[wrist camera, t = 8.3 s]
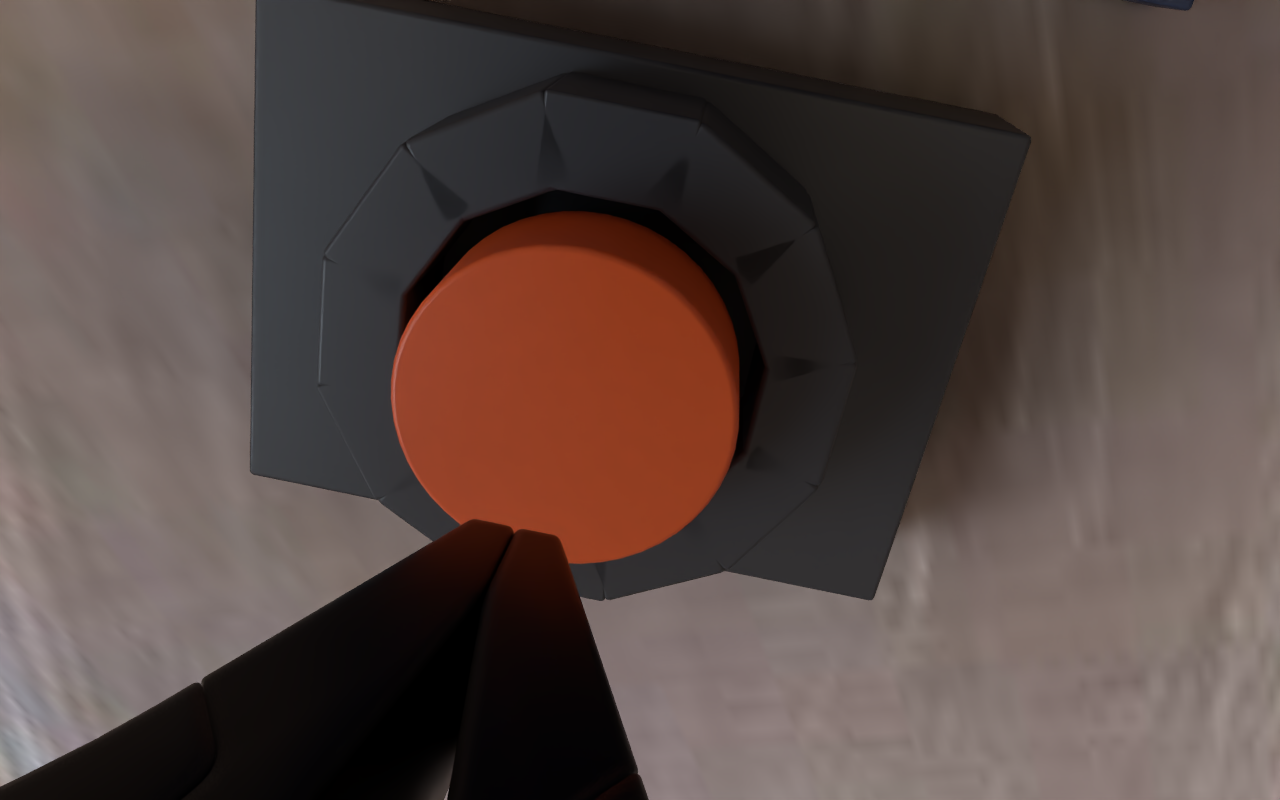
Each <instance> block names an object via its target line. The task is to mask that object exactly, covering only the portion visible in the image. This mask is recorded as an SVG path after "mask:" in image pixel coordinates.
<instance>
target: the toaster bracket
mask: <svg viewBox="0 0 1280 800" xmlns="http://www.w3.org/2000/svg"><path fill="white" fill-rule="evenodd" d="M1124 1H1129V2H1134V3H1139V4H1145V5H1150V6H1155V7H1162V8H1169V9H1176V10H1184V11H1186V10H1189V9H1190V8H1191V7H1192V5H1193V2H1194V0H1124Z"/></svg>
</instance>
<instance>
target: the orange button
mask: <svg viewBox="0 0 1280 800" xmlns="http://www.w3.org/2000/svg"><path fill="white" fill-rule="evenodd" d="M391 405H392V412H393V420H394V424H395V428H396V432H397V435H398V439H399V443H400V445H401V447H402V450H403V452H404V455H405V457H406V459H407V462H408V463H409V465H410V467H411V469H412V470H413V472H414V474H415V476H416V477H417V479H418V481H419V482H420V483H421V485H422V486H423V487H424V489H425V490H426V491H427V493H428V494H429V495H430V496H431V498H432V499H433V500H434V501H435V502H436V503H437V504H438V505H439V506H440V507H441V508H442V509H443V510H444V511H445V512H446V513H447V514H448V515H450V516H451V517H452V518H453V519H454V520H456V521H457V522H458V523H459V524H460V525H462V524H464V523H465V522H467V521H469V520H472V519H478V520H483V521H488V522H493V523H497V524H502V525H507V526H509V527H511V528H512V529H513V531H514V533H515V532H516V531H517V530H520V529H527V530H532V531H537V532H542V533H547V534H552V535H555V536H557V537H558V538H559V539H560V541H561V543H562V545H563V548H564V551H565V554H566V557H567V560H568V563H573V564H585V563H598V562H605V561H611V560H616V559H621V558H625V557H628V556H631V555H634V554H637V553H640V552H643V551H645V550H647V549H649V548H651V547H654V546H656V545H658V544H660V543H662V542H663V541H665V540H667V539H668V538H670V537H671V536H673V535H675V534H676V533H678V532H679V531H680V530H681V529H683V528H684V527H685V526H686V525H687V524H689V523H690V522H691V521H692V520H694V519H695V518H696V517H697V515H698V514H699V513H700V512H701V511H702V510H703V509H704V508H705V507H706V506H707V505H708V503H709V502H710V501H711V499H712V498H713V496H714V495H715V493H716V492H717V491H718V489H719V488H720V486H721V484H722V482H723V480H724V478H725V476H726V474H727V472H728V470H729V467H730V464H731V461H732V458H733V455H734V452H735V448H736V443H737V437H738V431H739V352H738V344H737V338H736V334H735V330H734V327H733V323H732V320H731V317H730V315H729V313H728V310H727V308H726V305H725V303H724V301H723V299H722V298H721V296H720V294H719V292H718V291H717V289H716V287H715V286H714V284H713V283H712V281H711V280H710V279H709V278H708V276H707V275H706V274H705V272H704V271H703V270H702V269H701V267H700V266H699V265H698V264H697V263H696V262H695V261H693V260H692V259H691V258H690V257H689V256H688V255H687V254H686V253H685V252H684V251H683V250H681V249H680V248H679V247H677V246H676V245H675V244H673V243H672V242H671V241H670V240H668V239H667V238H665V237H663V236H661V235H660V234H658V233H656V232H654V231H653V230H651V229H649V228H647V227H644V226H642V225H640V224H637V223H635V222H632V221H630V220H627V219H623V218H620V217H616V216H612V215H608V214H603V213H595V212H588V211H559V212H552V213H544V214H539V215H535V216H532V217H528V218H524V219H521V220H518V221H516V222H514V223H511V224H509V225H506V226H504V227H502V228H500V229H498V230H497V231H495V232H493V233H492V234H490V235H488V236H487V237H485V238H484V239H482V240H481V241H480V242H479V243H477V244H476V245H475V246H474V247H473V248H471V249H470V250H469V251H468V252H467V253H466V254H465V255H464V256H463V257H462V258H461V259H460V261H459V262H458V263H457V264H456V265H455V266H454V267H453V268H452V269H451V270H450V272H449V273H448V274H447V275H446V276H445V277H444V278H443V279H442V280H441V281H440V283H439V284H438V285H437V286H436V287H435V288H434V289H433V290H432V291H431V293H430V294H429V295H428V296H427V297H426V298H425V299H424V300H423V301H422V303H421V304H420V305H419V307H418V308H417V310H416V311H415V313H414V314H413V316H412V317H411V319H410V320H409V322H408V324H407V326H406V328H405V331H404V333H403V335H402V337H401V339H400V342H399V345H398V348H397V352H396V355H395V358H394V364H393V370H392V377H391Z"/></svg>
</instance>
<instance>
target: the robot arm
mask: <svg viewBox="0 0 1280 800" xmlns="http://www.w3.org/2000/svg"><path fill="white" fill-rule="evenodd" d="M449 786H450V787H449ZM448 789H449V793H448V798H447V800H649V799H648V796H647V793H646V790H645V787H644V785H643V782H642V779H641V777H640V775H638V768H637V765H636V762H635V759H634V756H633V753H632V750H631V747H630V744H629V741H628V738H627V735H626V732H625V730H624V727H623V724H622V721H621V718H620V715H619V712H618V709H617V706H616V703H615V700H614V697H613V694H612V691H611V688H610V685H609V682H608V679H607V676H606V673H605V670H604V667H603V664H602V661H601V658H600V655H599V652H598V649H597V646H596V643H595V640H594V637H593V635H592V632H591V629H590V626H589V623H588V620H587V617H586V614H585V611H584V608H583V605H582V602H581V599H580V596H579V593H578V590H577V587H576V584H575V581H574V578H573V575H572V572H571V569H570V566H569V563H568V560H567V557H566V554H565V551H564V548H563V545H562V543H561V541H560V539H559V538H558V537H557V536H555V535H552V534H547V533H542V532H537V531H532V530H527V529H520V530H517V531H516V532H515V533H514V531H513V529H512V528H511V527H509V526H507V525H502V524H497V523H493V522H488V521H483V520H478V519H472V520H469V521H467V522H465V523H464V524H462V525H460V526H459V527H457V528H455V529H453V530H452V531H450V532H448V533H447V534H445V535H443V536H442V537H440V538H438V539H437V540H435V541H433V542H432V543H430V544H428V545H426V546H425V547H423V548H421V549H420V550H418V551H416V552H415V553H413V554H411V555H410V556H408V557H406V558H405V559H403V560H401V561H399V562H398V563H396V564H394V565H393V566H391V567H389V568H388V569H386V570H384V571H383V572H381V573H379V574H378V575H376V576H374V577H372V578H371V579H369V580H367V581H366V582H364V583H362V584H361V585H359V586H357V587H356V588H354V589H352V590H351V591H349V592H347V593H345V594H344V595H342V596H340V597H339V598H337V599H335V600H334V601H332V602H330V603H329V604H327V605H325V606H324V607H322V608H320V609H319V610H317V611H315V612H313V613H312V614H310V615H308V616H307V617H305V618H303V619H302V620H300V621H298V622H297V623H295V624H293V625H292V626H290V627H288V628H286V629H285V630H283V631H281V632H280V633H278V634H276V635H275V636H273V637H271V638H270V639H268V640H266V641H265V642H263V643H261V644H259V645H258V646H256V647H254V648H253V649H251V650H249V651H248V652H246V653H244V654H243V655H241V656H239V657H238V658H236V659H234V660H232V661H231V662H229V663H227V664H226V665H224V666H222V667H221V668H219V669H217V670H216V671H214V672H212V673H211V674H209V675H207V676H206V677H204V678H203V679H202V682H201V684H200V683H193V684H191V685H190V686H188V687H186V688H185V689H183V690H181V691H180V692H178V693H176V694H174V695H173V696H171V697H169V698H168V699H166V700H164V701H163V702H161V703H159V704H158V705H156V706H154V707H152V708H150V709H149V710H147V711H145V712H143V713H142V714H140V715H138V716H136V717H134V718H133V719H131V720H129V721H127V722H125V723H124V724H122V725H120V726H118V727H117V728H115V729H113V730H111V731H109V732H108V733H106V734H104V735H102V736H100V737H99V738H97V739H95V740H93V741H91V742H89V743H87V744H85V745H83V746H81V747H79V748H77V749H75V750H73V751H71V752H69V753H67V754H65V755H63V756H61V757H59V758H57V759H55V760H53V761H51V762H49V763H47V764H45V765H44V766H42V767H40V768H38V769H36V770H34V771H32V772H30V773H28V774H26V775H24V776H22V777H20V778H18V779H15V780H13V781H11V782H9V783H7V784H5V785H3V786H1V787H0V800H444V798H445V796H446V793H447V791H448Z"/></svg>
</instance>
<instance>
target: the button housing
mask: <svg viewBox="0 0 1280 800" xmlns="http://www.w3.org/2000/svg"><path fill="white" fill-rule="evenodd" d="M1030 143H1031V137H1030V136H1029V135H1027V134H1026V133H1024V132H1023V131H1021V130H1020V129H1018V128H1016V127H1015V126H1013V125H1012V124H1010V123H1009V122H1007V121H1005V120H1004V119H1002V118H1001V117H999V116H998V115H996V114H991V113H986V112H981V111H976V110H971V109H966V108H961V107H956V106H951V105H946V104H941V103H936V102H931V101H926V100H921V99H916V98H911V97H906V96H901V95H896V94H891V93H886V92H881V91H876V90H871V89H866V88H861V87H856V86H851V85H846V84H841V83H836V82H831V81H826V80H821V79H816V78H811V77H806V76H801V75H796V74H791V73H786V72H781V71H776V70H771V69H766V68H761V67H756V66H751V65H746V64H741V63H736V62H731V61H726V60H721V59H716V58H711V57H706V56H701V55H696V54H691V53H686V52H681V51H676V50H671V49H666V48H661V47H656V46H651V45H646V44H641V43H636V42H631V41H626V40H621V39H616V38H611V37H606V36H601V35H596V34H591V33H586V32H581V31H576V30H571V29H566V28H561V27H556V26H551V25H546V24H541V23H536V22H531V21H526V20H521V19H516V18H511V17H506V16H501V15H496V14H491V13H486V12H481V11H476V10H471V9H466V8H461V7H456V6H451V5H446V4H441V3H436V2H431V1H426V0H256V27H255V110H254V192H253V275H252V357H251V439H250V472H251V473H252V474H254V475H259V476H263V477H268V478H273V479H278V480H283V481H288V482H293V483H298V484H303V485H308V486H312V487H317V488H322V489H327V490H332V491H337V492H342V493H347V494H352V495H357V496H361V497H366V498H371V499H376V500H379V501H380V502H381V504H383V505H384V506H385V507H387V508H388V509H390V510H391V511H392V512H394V513H395V514H396V515H398V516H399V517H400V518H402V519H403V520H405V521H406V522H407V523H409V524H410V525H411V526H413V527H414V528H416V529H417V530H418V531H420V532H421V533H422V534H424V535H425V536H426V537H428V538H429V539H431V540H432V541H435V540H437V539H438V538H440V537H442V536H443V535H445V534H447V533H448V532H450V531H452V530H453V529H455V528H457V527H459V526H460V524H459V523H458V522H457V521H456V520H454V519H453V518H452V517H451V516H450V515H448V514H447V513H446V512H445V511H444V510H443V509H442V508H441V507H440V506H439V505H438V504H437V503H436V502H435V501H434V500H433V499H432V498H431V496H430V495H429V494H428V493H427V491H426V490H425V489H424V487H423V486H422V485H421V483H420V482H419V481H418V479H417V477H416V476H415V474H414V472H413V470H412V469H411V467H410V465H409V463H408V462H407V459H406V457H405V455H404V452H403V450H402V447H401V445H400V443H399V439H398V435H397V432H396V428H395V424H394V420H393V412H392V405H391V377H392V370H393V364H394V358H395V355H396V352H397V348H398V345H399V342H400V339H401V337H402V335H403V333H404V331H405V328H406V326H407V324H408V322H409V320H410V319H411V317H412V316H413V314H414V313H415V311H416V310H417V308H418V307H419V305H420V304H421V303H422V301H423V300H424V299H425V298H426V297H427V296H428V295H429V294H430V293H431V291H432V290H433V289H434V288H435V287H436V286H437V285H438V284H439V283H440V281H441V280H442V279H443V278H444V277H445V276H446V275H447V274H448V273H449V272H450V270H451V269H452V268H453V267H454V266H455V265H456V264H457V263H458V262H459V261H460V259H461V258H462V257H463V256H464V255H465V254H466V253H467V252H468V251H469V250H470V249H471V248H473V247H474V246H475V245H476V244H477V243H479V242H480V241H481V240H482V239H484V238H485V237H487V236H488V235H490V234H492V233H493V232H495V231H497V230H498V229H500V228H502V227H504V226H506V225H509V224H511V223H514V222H516V221H518V220H521V219H524V218H528V217H532V216H535V215H539V214H544V213H552V212H559V211H588V212H595V213H603V214H608V215H612V216H616V217H620V218H623V219H627V220H630V221H632V222H635V223H637V224H640V225H642V226H644V227H647V228H649V229H651V230H653V231H654V232H656V233H658V234H660V235H661V236H663V237H665V238H667V239H668V240H670V241H671V242H672V243H673V244H675V245H676V246H677V247H679V248H680V249H681V250H683V251H684V252H685V253H686V254H687V255H688V256H689V257H690V258H691V259H692V260H693V261H695V262H696V263H697V264H698V265H699V266H700V267H701V269H702V270H703V271H704V272H705V274H706V275H707V276H708V278H709V279H710V280H711V281H712V283H713V284H714V286H715V287H716V289H717V291H718V292H719V294H720V296H721V298H722V299H723V301H724V303H725V305H726V308H727V310H728V313H729V315H730V317H731V320H732V323H733V327H734V330H735V334H736V338H737V344H738V352H739V431H738V437H737V443H736V448H735V452H734V455H733V458H732V461H731V464H730V467H729V470H728V472H727V474H726V476H725V478H724V480H723V482H722V484H721V486H720V488H719V489H718V491H717V492H716V493H715V495H714V496H713V498H712V499H711V501H710V502H709V503H708V505H707V506H706V507H705V508H704V509H703V510H702V511H701V512H700V513H699V514H698V515H697V517H696V518H695V519H694V520H692V521H691V522H690V523H689V524H687V525H686V526H685V527H684V528H683V529H681V530H680V531H679V532H678V533H676V534H675V535H673V536H671V537H670V538H668V539H667V540H665V541H663V542H662V543H660V544H658V545H656V546H654V547H651V548H649V549H647V550H645V551H643V552H640V553H637V554H634V555H631V556H628V557H625V558H621V559H616V560H611V561H605V562H598V563H585V564H573V563H569V566H570V569H571V572H572V575H573V578H574V581H575V584H576V587H577V590H578V593H579V596H580V597H584V598H589V599H594V600H599V601H602V600H604V599H605V598H606V599H607V600H611V599H616V598H620V597H624V596H628V595H632V594H636V593H640V592H644V591H648V590H652V589H656V588H660V587H664V586H669V585H673V584H677V583H681V582H685V581H689V580H693V579H697V578H701V577H705V576H709V575H713V574H718V573H721V572H723V571H729V572H734V573H738V574H743V575H748V576H753V577H758V578H763V579H768V580H773V581H778V582H782V583H787V584H792V585H797V586H802V587H807V588H812V589H817V590H822V591H827V592H831V593H836V594H841V595H846V596H851V597H856V598H861V599H866V600H872V599H873V598H874V596H875V593H876V590H877V588H878V585H879V582H880V579H881V576H882V573H883V570H884V567H885V564H886V561H887V559H888V556H889V553H890V550H891V547H892V544H893V541H894V538H895V535H896V532H897V529H898V527H899V524H900V521H901V518H902V515H903V512H904V509H905V506H906V503H907V500H908V498H909V495H910V492H911V489H912V486H913V483H914V480H915V477H916V474H917V471H918V468H919V466H920V463H921V460H922V457H923V454H924V451H925V448H926V445H927V442H928V439H929V437H930V434H931V431H932V428H933V425H934V422H935V419H936V416H937V413H938V410H939V408H940V405H941V402H942V399H943V396H944V393H945V390H946V387H947V384H948V381H949V378H950V376H951V373H952V370H953V367H954V364H955V361H956V358H957V355H958V352H959V349H960V347H961V344H962V341H963V338H964V335H965V332H966V329H967V326H968V323H969V320H970V317H971V315H972V312H973V309H974V306H975V303H976V300H977V297H978V294H979V291H980V288H981V286H982V283H983V280H984V277H985V274H986V271H987V268H988V265H989V262H990V259H991V256H992V254H993V251H994V248H995V245H996V242H997V239H998V236H999V233H1000V230H1001V227H1002V225H1003V222H1004V219H1005V216H1006V213H1007V210H1008V207H1009V204H1010V201H1011V198H1012V195H1013V193H1014V190H1015V187H1016V184H1017V181H1018V178H1019V175H1020V172H1021V169H1022V166H1023V164H1024V161H1025V158H1026V155H1027V152H1028V149H1029V146H1030Z"/></svg>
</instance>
